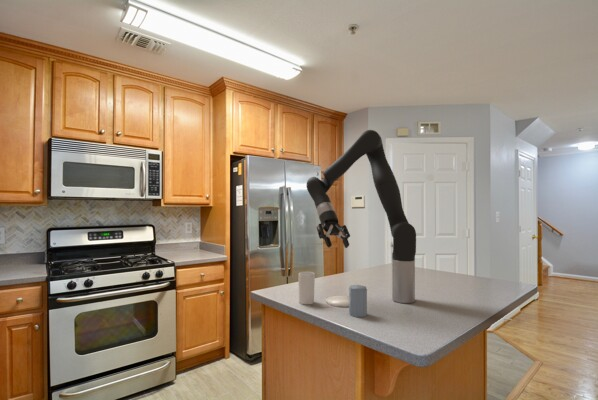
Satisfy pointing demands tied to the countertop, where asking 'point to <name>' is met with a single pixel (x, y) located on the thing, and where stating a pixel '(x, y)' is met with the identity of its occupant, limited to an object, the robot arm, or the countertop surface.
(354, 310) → the tumbler
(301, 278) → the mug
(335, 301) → the dish
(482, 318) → the countertop surface
